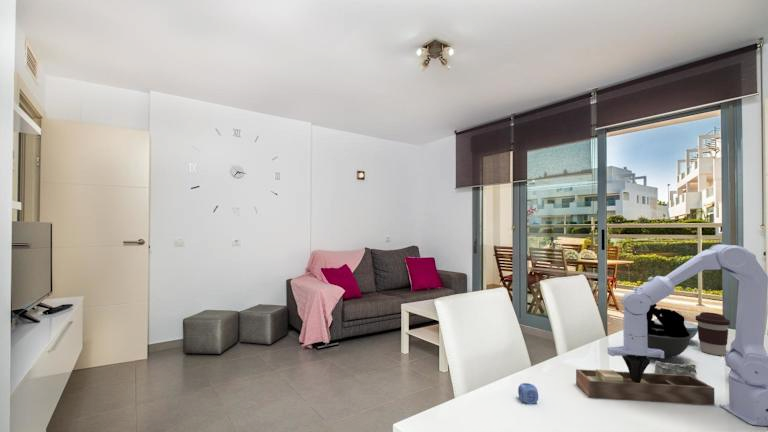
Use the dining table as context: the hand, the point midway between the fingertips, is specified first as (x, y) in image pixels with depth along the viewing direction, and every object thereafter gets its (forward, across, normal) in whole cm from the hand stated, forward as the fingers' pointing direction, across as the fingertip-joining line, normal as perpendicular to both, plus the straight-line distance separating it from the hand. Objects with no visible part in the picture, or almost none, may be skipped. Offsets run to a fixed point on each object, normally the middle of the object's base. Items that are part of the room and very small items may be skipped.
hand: (635, 381), depth 103 cm
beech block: (0, +7, 0) cm, 7 cm away
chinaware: (+4, -48, -55) cm, 73 cm away
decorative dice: (+4, +33, +8) cm, 34 cm away
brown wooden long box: (+3, -2, 0) cm, 4 cm away
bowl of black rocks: (+4, -26, -33) cm, 42 cm away
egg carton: (+4, -22, -16) cm, 27 cm away
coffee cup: (+4, -52, -41) cm, 67 cm away
